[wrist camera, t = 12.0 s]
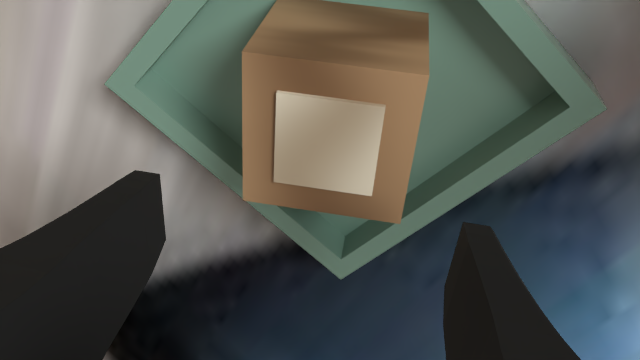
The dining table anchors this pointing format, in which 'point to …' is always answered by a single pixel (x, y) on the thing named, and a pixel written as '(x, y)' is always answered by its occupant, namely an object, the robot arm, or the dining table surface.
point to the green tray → (436, 121)
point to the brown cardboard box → (333, 107)
